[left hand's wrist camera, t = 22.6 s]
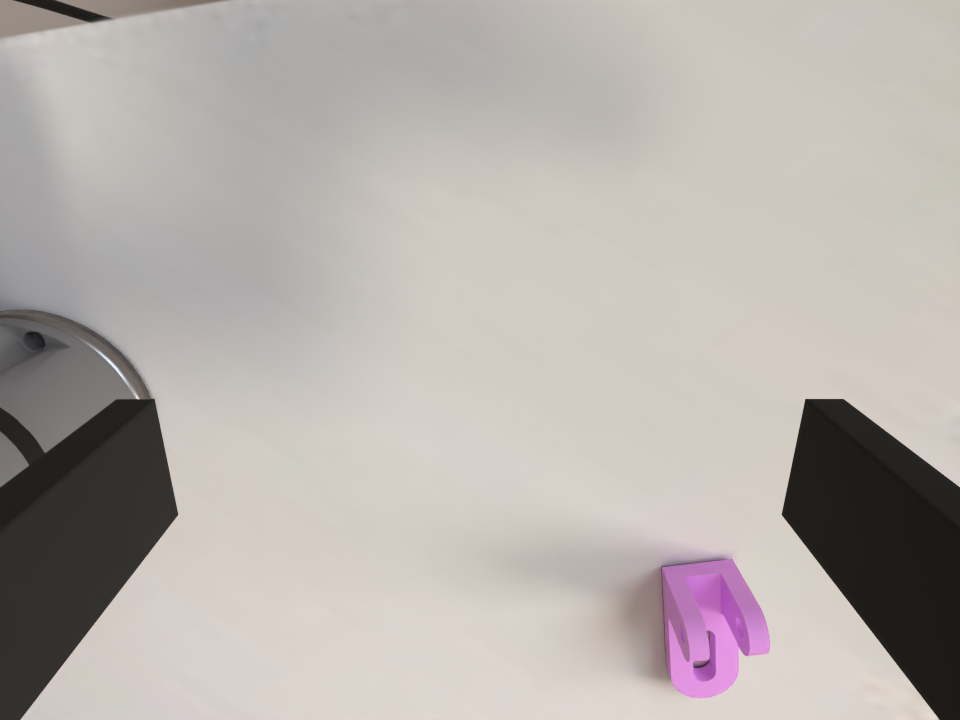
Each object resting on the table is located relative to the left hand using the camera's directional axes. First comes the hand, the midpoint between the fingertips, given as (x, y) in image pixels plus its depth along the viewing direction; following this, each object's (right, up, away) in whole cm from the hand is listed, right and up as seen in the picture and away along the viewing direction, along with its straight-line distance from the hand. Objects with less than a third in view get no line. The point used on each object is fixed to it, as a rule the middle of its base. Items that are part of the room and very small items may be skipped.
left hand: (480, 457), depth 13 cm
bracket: (+18, -20, +39) cm, 48 cm away
